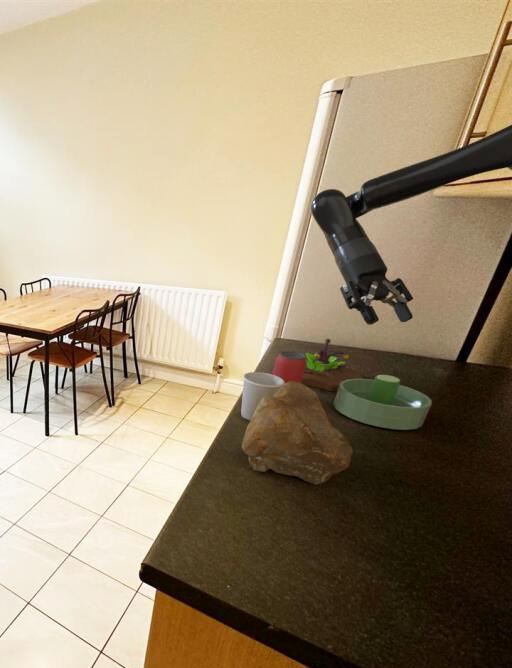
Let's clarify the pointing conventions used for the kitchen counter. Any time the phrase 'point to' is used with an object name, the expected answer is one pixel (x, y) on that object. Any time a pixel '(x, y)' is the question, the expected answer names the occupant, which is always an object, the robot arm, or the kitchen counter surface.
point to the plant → (327, 370)
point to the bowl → (382, 405)
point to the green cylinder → (384, 389)
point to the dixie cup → (258, 390)
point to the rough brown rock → (295, 436)
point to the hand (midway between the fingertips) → (390, 321)
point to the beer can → (290, 366)
